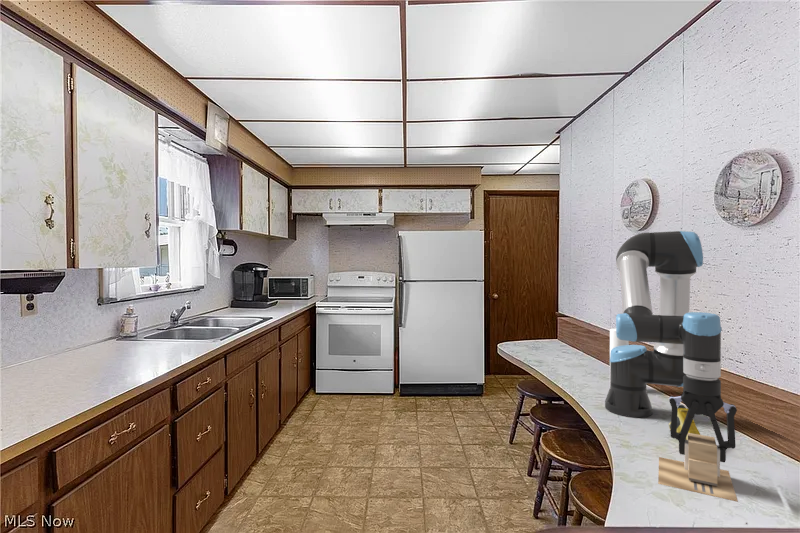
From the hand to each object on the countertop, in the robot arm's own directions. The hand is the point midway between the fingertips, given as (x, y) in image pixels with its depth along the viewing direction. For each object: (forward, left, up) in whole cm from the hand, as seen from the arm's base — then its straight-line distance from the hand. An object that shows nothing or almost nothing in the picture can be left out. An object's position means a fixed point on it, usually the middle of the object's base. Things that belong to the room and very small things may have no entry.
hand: (701, 470), depth 105 cm
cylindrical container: (-75, -24, -3) cm, 79 cm away
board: (+1, -2, -3) cm, 4 cm away
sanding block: (0, 0, -1) cm, 1 cm away
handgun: (-21, -2, -4) cm, 21 cm away
